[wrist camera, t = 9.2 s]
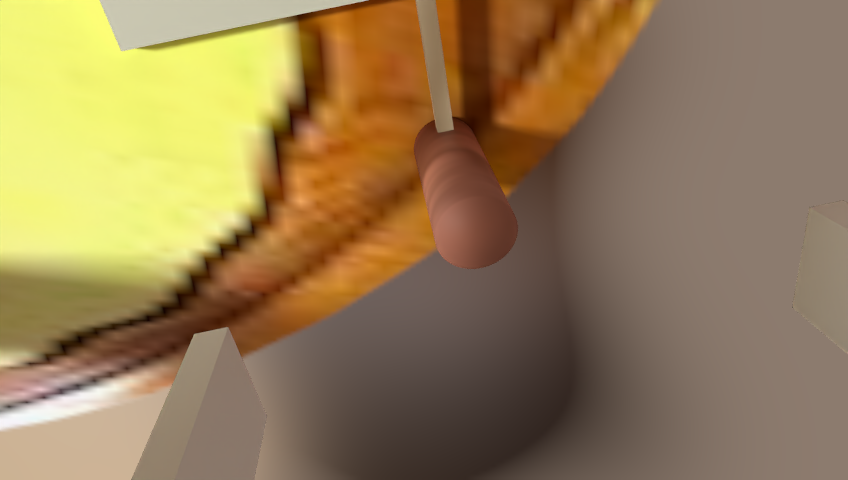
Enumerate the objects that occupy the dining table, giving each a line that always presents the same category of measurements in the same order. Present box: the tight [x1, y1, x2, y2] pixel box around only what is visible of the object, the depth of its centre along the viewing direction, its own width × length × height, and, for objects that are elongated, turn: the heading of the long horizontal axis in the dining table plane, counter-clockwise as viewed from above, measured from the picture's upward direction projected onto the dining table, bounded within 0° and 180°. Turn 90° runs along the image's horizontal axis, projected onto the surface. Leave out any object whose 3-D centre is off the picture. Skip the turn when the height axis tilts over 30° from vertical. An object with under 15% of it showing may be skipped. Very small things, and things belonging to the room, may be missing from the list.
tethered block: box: [414, 0, 518, 269], centre depth 22 cm, size 6×19×9 cm, turn 10°
